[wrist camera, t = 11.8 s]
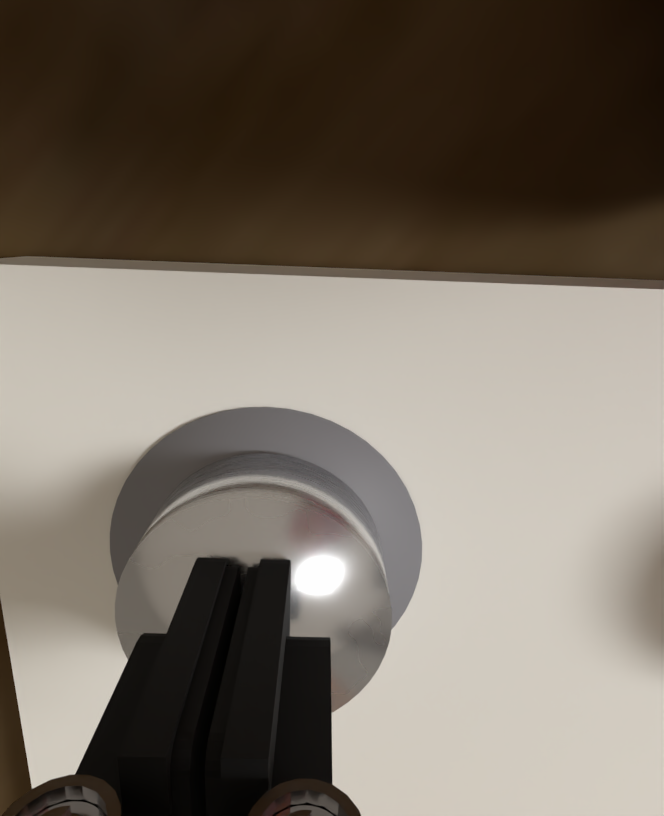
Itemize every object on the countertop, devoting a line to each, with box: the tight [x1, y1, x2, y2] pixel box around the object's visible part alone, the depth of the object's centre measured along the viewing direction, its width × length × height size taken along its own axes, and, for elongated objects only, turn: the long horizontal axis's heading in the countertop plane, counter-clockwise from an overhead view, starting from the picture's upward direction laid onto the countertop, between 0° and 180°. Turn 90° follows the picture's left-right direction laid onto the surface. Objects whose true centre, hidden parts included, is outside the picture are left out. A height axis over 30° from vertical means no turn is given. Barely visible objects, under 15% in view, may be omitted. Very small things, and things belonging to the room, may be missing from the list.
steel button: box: [115, 453, 392, 712], centre depth 11 cm, size 5×5×2 cm
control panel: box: [0, 256, 664, 816], centre depth 16 cm, size 25×26×3 cm
